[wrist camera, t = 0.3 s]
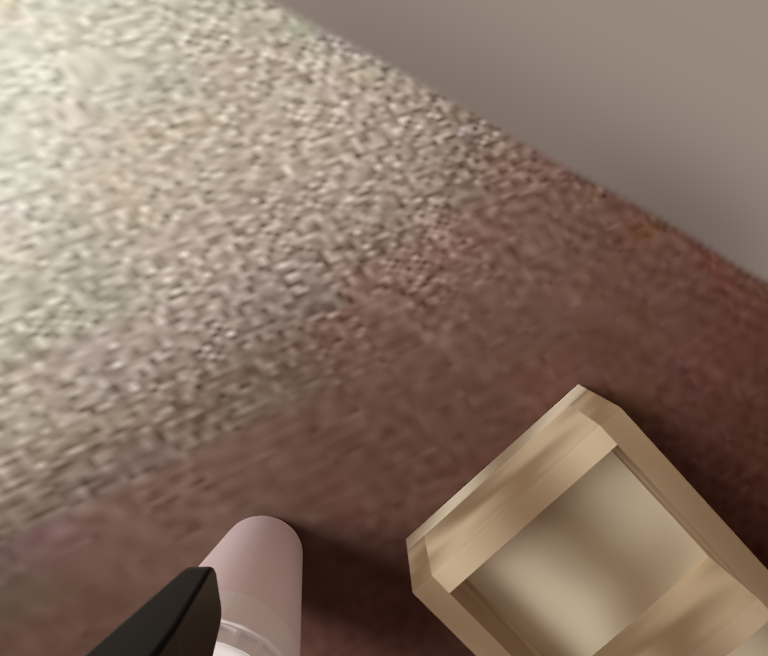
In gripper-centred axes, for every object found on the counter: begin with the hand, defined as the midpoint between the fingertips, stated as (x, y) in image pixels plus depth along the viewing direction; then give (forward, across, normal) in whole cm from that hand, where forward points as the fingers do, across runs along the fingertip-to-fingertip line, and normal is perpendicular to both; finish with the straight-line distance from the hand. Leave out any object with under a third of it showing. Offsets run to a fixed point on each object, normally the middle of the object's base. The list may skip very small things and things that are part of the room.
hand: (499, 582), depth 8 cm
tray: (+13, -9, +14) cm, 21 cm away
